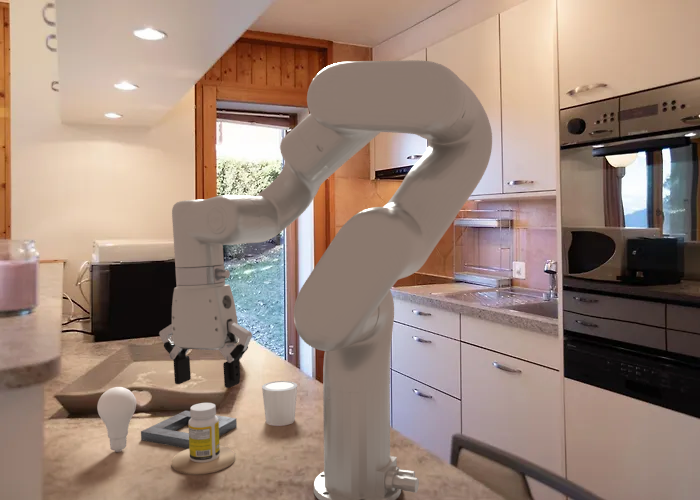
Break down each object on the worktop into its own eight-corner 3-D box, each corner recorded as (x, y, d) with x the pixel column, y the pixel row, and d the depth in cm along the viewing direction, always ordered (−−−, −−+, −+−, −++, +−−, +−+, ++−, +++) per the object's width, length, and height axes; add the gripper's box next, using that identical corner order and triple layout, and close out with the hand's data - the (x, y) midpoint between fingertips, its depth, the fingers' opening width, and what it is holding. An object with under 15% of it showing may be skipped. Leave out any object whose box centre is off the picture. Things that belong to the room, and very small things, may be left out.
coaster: (247, 453, 96) (247, 450, 96) (210, 478, 87) (210, 474, 87) (198, 445, 100) (198, 441, 100) (158, 468, 91) (158, 464, 91)
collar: (236, 426, 109) (236, 418, 108) (195, 450, 98) (195, 441, 97) (185, 418, 113) (185, 410, 113) (141, 440, 102) (140, 431, 102)
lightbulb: (144, 451, 97) (142, 387, 97) (107, 462, 93) (105, 395, 92) (128, 441, 102) (126, 380, 101) (92, 451, 97) (90, 387, 97)
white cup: (255, 423, 110) (254, 387, 110) (275, 412, 116) (274, 378, 116) (285, 429, 107) (285, 392, 107) (304, 417, 113) (303, 382, 113)
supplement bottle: (208, 449, 96) (206, 399, 96) (225, 456, 93) (224, 405, 93) (183, 458, 93) (181, 407, 92) (201, 466, 90) (199, 413, 89)
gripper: (259, 274, 92) (265, 380, 92) (173, 276, 98) (179, 375, 99) (232, 279, 85) (239, 393, 85) (141, 280, 92) (148, 387, 92)
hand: (207, 383), depth 92 cm, fingers open, 9 cm apart
